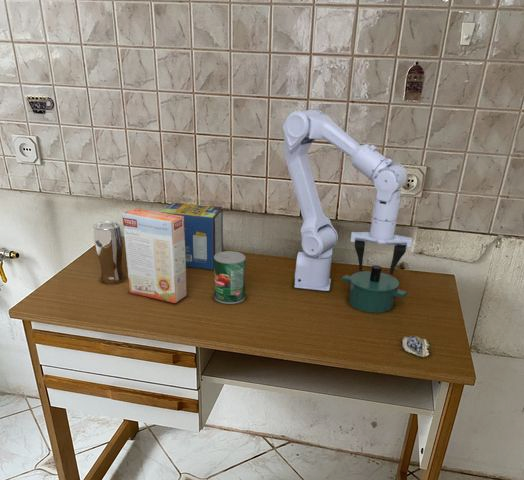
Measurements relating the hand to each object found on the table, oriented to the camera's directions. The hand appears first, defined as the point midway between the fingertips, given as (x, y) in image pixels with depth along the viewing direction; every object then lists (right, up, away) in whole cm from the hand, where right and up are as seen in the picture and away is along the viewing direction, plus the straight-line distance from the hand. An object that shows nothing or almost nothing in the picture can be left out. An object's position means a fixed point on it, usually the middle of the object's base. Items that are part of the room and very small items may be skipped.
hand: (375, 271), depth 131 cm
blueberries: (+6, -20, -16) cm, 26 cm away
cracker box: (-55, -6, +2) cm, 56 cm away
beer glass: (-69, -1, +9) cm, 70 cm away
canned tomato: (-37, -7, +3) cm, 38 cm away
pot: (-1, -8, +3) cm, 8 cm away
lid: (0, -3, 0) cm, 3 cm away
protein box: (-49, +6, +23) cm, 55 cm away
